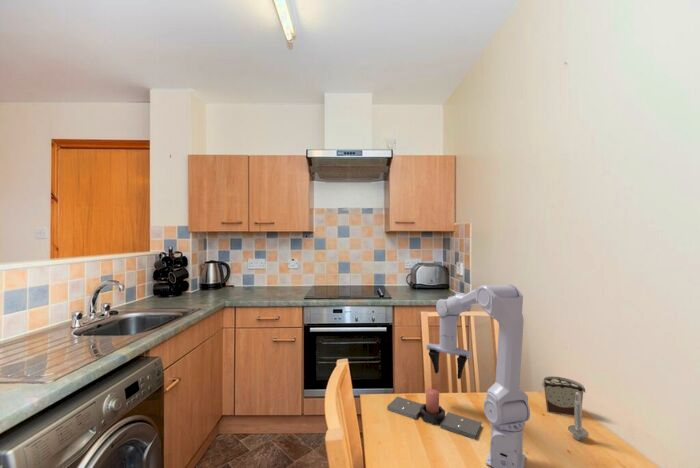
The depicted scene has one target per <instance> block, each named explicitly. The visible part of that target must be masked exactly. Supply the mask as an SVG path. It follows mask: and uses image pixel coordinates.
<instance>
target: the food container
mask: <svg viewBox="0 0 700 468" xmlns="http://www.w3.org/2000/svg"><path fill="white" fill-rule="evenodd" d="M541 387H542V388H544V397H545V398H544V399H545V406H546V411H547V413H550V414H557V415H563V416H571V417H575V416H574V415H575V414H574V413H575V412H574V411H575V410H574V409H575V408H574V407H575V403H574V402H575V401H574V400H575V393H576V392H579V393H580V395H581V401H582V402H581V403H582V404H581V405H582V406H583V399H584V394H585V393H586V388H585V387H584V385H583V384H582V383H581V382H578V381H575V380H572V379H570V378H566V377H560V376H545V377H544V378H543V380H542V384H541Z"/></svg>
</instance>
